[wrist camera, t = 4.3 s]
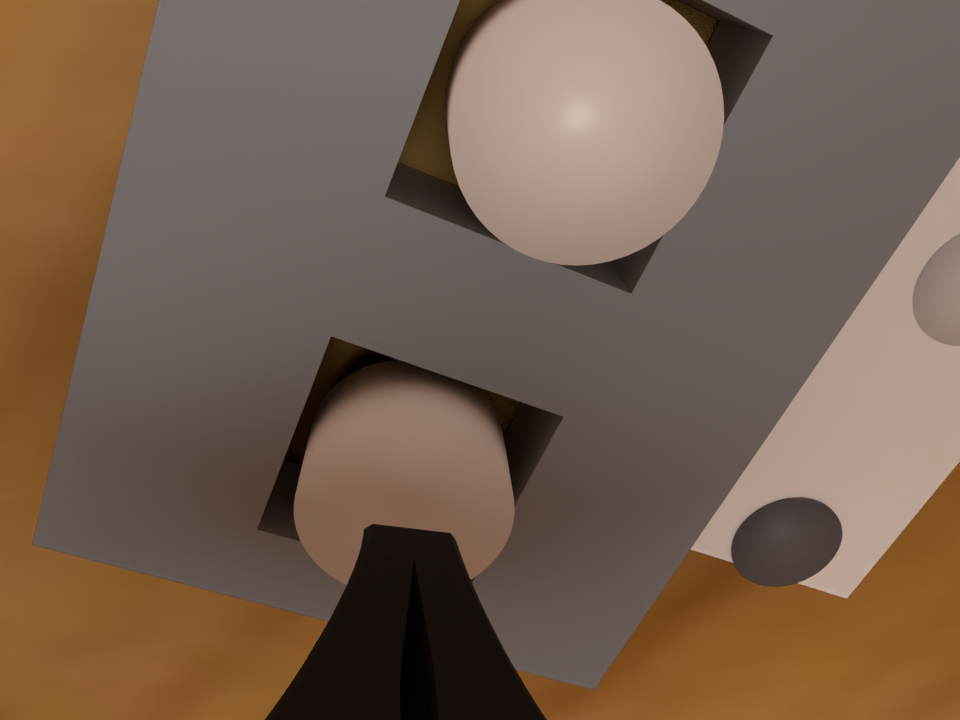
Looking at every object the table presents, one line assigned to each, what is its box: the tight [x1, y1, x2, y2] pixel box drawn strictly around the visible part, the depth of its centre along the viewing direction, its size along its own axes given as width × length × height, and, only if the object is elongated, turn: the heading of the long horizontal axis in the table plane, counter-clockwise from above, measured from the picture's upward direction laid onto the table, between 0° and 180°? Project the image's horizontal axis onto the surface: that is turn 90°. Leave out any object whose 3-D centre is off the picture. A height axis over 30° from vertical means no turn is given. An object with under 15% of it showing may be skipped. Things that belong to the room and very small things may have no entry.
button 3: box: [294, 360, 515, 585], centre depth 15 cm, size 4×4×2 cm
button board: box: [32, 0, 960, 690], centre depth 13 cm, size 12×22×2 cm, turn 157°
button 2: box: [445, 0, 724, 266], centre depth 12 cm, size 4×4×2 cm
